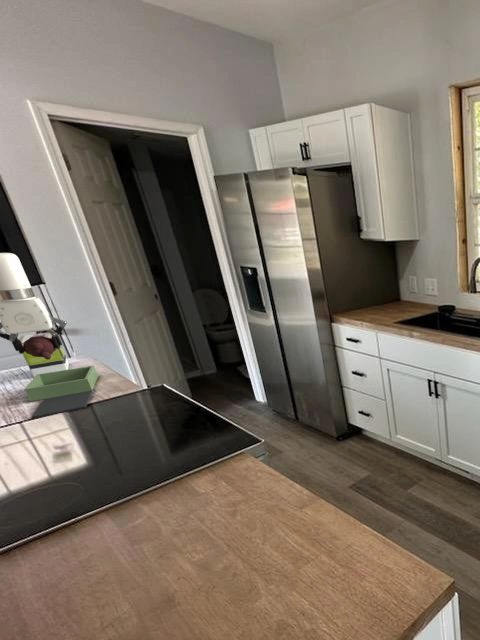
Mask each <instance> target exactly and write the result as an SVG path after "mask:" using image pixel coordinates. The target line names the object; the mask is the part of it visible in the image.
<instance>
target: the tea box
mask: <svg viewBox="0 0 480 640" xmlns="http://www.w3.org/2000/svg"><path fill="white" fill-rule="evenodd" d="M37 336H44V337H47V338H51V337H52V335H51V334H50V333H48V332H43V333H42V332H41V333H35V334H28V335H27V334H26V335H21V336H20V337H19V338H18V339H19V340H20V341H21V343H22V345H23V346H24V342H25V341H26V340H28V339H29V338H30V337H37ZM51 339H52V338H51ZM60 346H61V347H60V348H59V349H56V350H55V351H54V352H53V353H52V355H51V358H50V359H49V360H47V359H45V358H44V357H35V356H32V355H30V354H27V353H26V352H24V353H22V357H23V358H24V360H25V362H26V364H27V366H28V368H29V371H30V372H31V374H32V376H33V378H34V377H35V376H36V375H37V374H43V373H50V372H56V371H62V370H69V365H70V363H69V360H68V359H67V356H66V354H65V351H64V349H63V348H62V345H60Z"/></svg>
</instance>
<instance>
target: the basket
mask: <svg viewBox="0 0 480 640" xmlns="http://www.w3.org/2000/svg"><path fill="white" fill-rule="evenodd" d="M98 378H99V375H98V372H97V370H96V368H95V365H89V366H83V367H75V368H68V370H62V371H56V372H50V373H43V374H37V375H36V376H35V377H34V376H33V378H32V379H31V381H30V382H29V383H28V385H26V387H25V388H23V389H24V392H25V394H26V396H27V398H28V400H29V401H28V402H35V401H43V400H44V399H47V398H53V397H58V396H64V395H69V394H75V393H80V392H86V391H93V389H94V387H95V384H96V382H97V380H98Z"/></svg>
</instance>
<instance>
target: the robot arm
mask: <svg viewBox="0 0 480 640" xmlns="http://www.w3.org/2000/svg"><path fill="white" fill-rule="evenodd" d="M54 323H56V324H58V327H57V328H56V329H55V328H54V326H55V324H54ZM67 324H68V322H67V321H66V320H63V319H60V318H57V317H54V316H51V315H50V313H49V311H48V309H47V307H46V305H45V304H44V303H43V301H42V300H41V298H40V297H36V295H35V293H34V290H33V288H32V286H31V283H30V281H29V279H28V276H27V274H26V271H25V270H24V267H23V265H22V263H21V261H20V258H19V257H18V256H17V255H16V254H14V253H11V252H0V338H2V339H4V340H7V341H9V342H11V344H12V346H13V348H14V350H15V351H16V352H18V353H19V354H20V355H21V354H22V353H24V352H25V351H24V350H23V345H22V343H21V341H20V340H19V339H20V338H19V337H18V336H19V334H27V333H35V332H36V333H37V332H44V331H45V332H46V333H50V334H51V335H52V337H51V338H52V341H53V343H54V345H55V348H56V349H59V348H60V347H61V348H62V346H63V343H62V340H61V338H60V334H61V333H62V331H63V330H64V329H65V327H66V325H67ZM2 329H3V330H4V332H3V331H2ZM60 345H61V346H60ZM22 355H23V354H22Z"/></svg>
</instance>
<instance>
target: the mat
mask: <svg viewBox="0 0 480 640" xmlns="http://www.w3.org/2000/svg"><path fill="white" fill-rule="evenodd" d="M92 394H93V390H91V391H86V392H80V393H75V394H69V395H64V396H58V397H53V398H47V399H42V400H41V402H40V405H39V406H38V407H37V408H36V410H35V412H34V413H33V414H32V416H31V418H32V419H37V418H42V417H47V416H52V415H57V414H62V413H68V412H71V411H76V410H82V409H86V408H87V406H88V403H89V400H90V399H91V396H92Z"/></svg>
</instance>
